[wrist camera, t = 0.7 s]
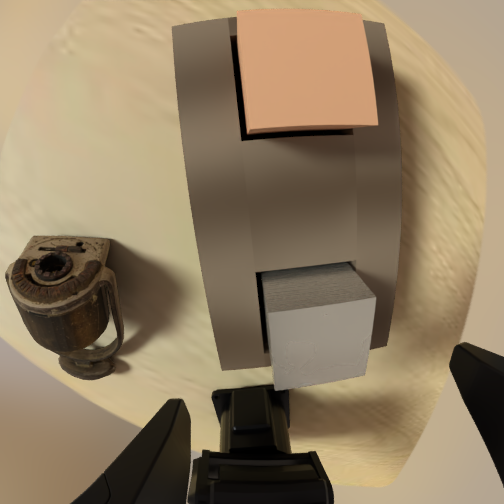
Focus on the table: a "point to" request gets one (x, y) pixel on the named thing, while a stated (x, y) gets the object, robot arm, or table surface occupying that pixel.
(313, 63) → the terracotta plug
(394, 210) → the plug panel
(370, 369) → the table surface
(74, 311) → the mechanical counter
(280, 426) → the robot arm
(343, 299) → the aluminium plug
